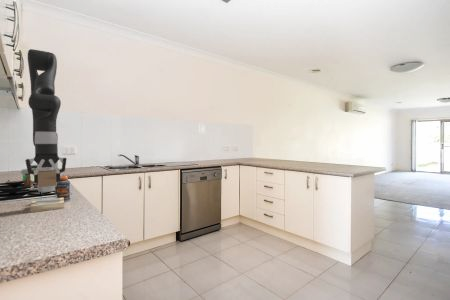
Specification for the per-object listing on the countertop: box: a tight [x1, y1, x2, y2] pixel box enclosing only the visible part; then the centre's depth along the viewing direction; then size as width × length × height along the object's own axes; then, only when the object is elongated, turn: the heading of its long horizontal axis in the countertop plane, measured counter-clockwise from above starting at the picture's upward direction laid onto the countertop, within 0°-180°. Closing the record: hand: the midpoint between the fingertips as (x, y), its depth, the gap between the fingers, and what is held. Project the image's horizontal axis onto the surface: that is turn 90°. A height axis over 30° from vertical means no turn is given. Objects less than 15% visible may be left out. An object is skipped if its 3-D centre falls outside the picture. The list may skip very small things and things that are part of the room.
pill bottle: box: [54, 175, 71, 202], centre depth 112 cm, size 6×6×11 cm
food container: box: [20, 168, 37, 187], centre depth 150 cm, size 12×6×10 cm, turn 21°
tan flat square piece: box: [29, 197, 65, 213], centre depth 101 cm, size 10×11×3 cm
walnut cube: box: [37, 170, 56, 188], centre depth 100 cm, size 6×6×6 cm
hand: (47, 182), depth 100 cm, fingers closed on walnut cube, 6 cm apart
